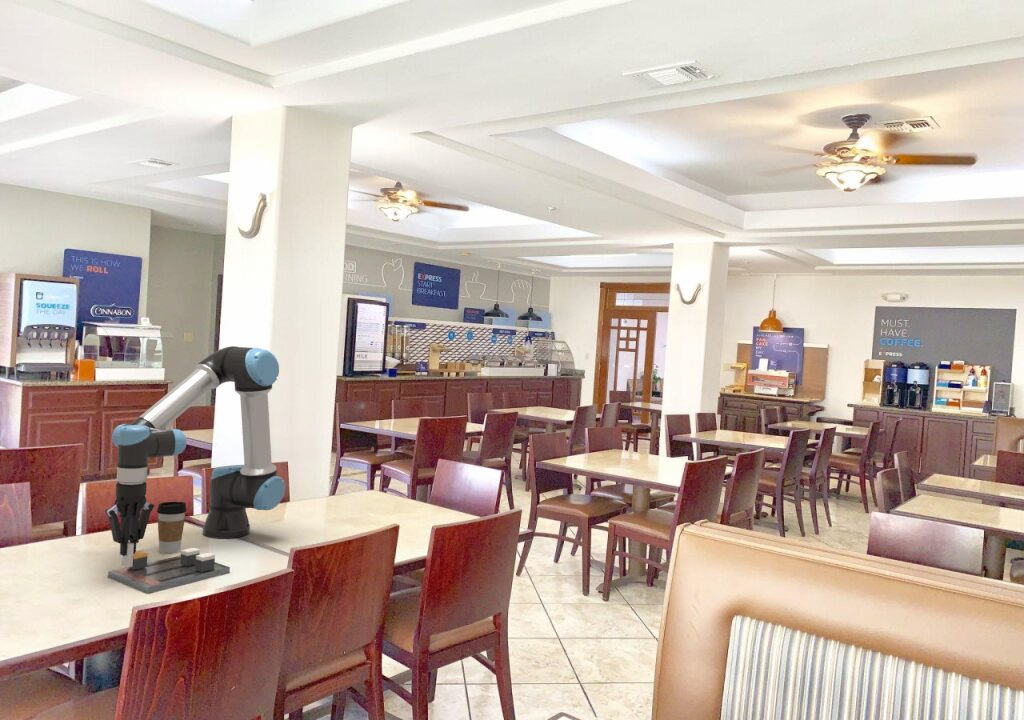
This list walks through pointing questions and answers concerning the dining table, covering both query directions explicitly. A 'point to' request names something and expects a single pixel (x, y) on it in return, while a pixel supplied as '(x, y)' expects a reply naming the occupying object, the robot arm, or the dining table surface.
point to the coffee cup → (170, 526)
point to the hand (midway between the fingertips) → (127, 566)
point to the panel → (164, 575)
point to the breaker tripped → (139, 560)
